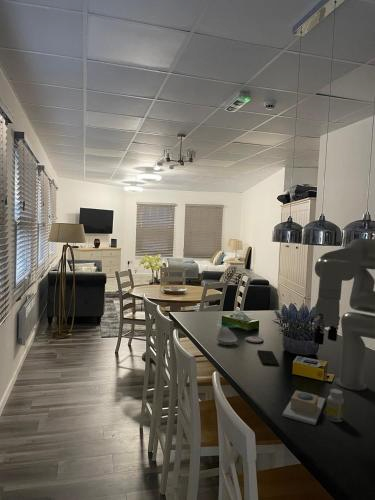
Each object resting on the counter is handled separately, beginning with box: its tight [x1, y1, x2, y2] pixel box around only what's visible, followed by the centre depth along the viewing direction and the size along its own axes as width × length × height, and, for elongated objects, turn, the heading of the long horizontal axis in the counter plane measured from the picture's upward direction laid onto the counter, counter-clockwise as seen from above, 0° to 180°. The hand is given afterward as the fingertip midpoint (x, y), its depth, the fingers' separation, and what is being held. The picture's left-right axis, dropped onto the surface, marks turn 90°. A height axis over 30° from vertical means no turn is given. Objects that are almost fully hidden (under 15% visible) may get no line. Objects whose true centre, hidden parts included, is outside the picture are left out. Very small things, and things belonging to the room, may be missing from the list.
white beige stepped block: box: [282, 390, 326, 426], centre depth 137 cm, size 22×11×5 cm, turn 152°
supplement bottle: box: [326, 388, 345, 423], centre depth 130 cm, size 5×5×10 cm
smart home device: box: [256, 349, 280, 367], centre depth 190 cm, size 8×2×20 cm
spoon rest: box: [216, 326, 238, 347], centre depth 218 cm, size 24×12×7 cm, turn 3°
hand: (325, 341), depth 134 cm, fingers open, 9 cm apart
